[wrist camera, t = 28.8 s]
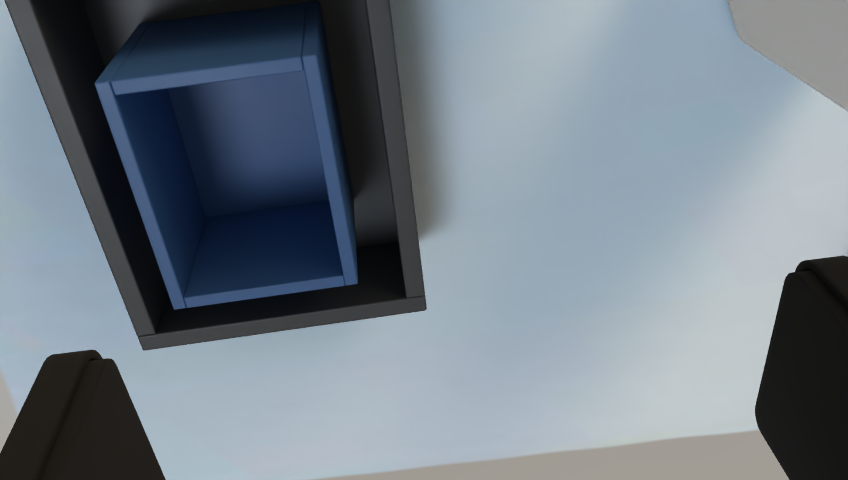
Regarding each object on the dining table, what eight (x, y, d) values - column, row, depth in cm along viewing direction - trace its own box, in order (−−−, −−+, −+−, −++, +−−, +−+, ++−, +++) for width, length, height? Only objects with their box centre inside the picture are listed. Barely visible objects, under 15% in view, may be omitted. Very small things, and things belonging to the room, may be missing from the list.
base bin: (46, -63, 28) (-9, -31, 23) (372, -103, 28) (379, -79, 24) (166, 279, 36) (142, 351, 31) (415, 244, 36) (427, 310, 32)
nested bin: (138, 23, 29) (93, 82, 23) (319, 0, 29) (316, 54, 24) (199, 222, 34) (173, 310, 28) (353, 201, 34) (358, 284, 28)
